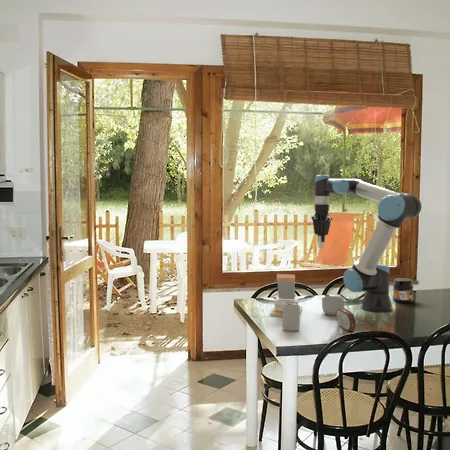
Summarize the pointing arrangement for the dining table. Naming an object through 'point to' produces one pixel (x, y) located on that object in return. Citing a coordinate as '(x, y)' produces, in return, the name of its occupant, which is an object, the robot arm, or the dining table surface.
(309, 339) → the dining table surface
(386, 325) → the dining table surface
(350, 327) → the tin
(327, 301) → the light grey rounded block
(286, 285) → the grey orange box
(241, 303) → the dining table surface
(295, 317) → the can
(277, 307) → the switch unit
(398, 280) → the supplement container
